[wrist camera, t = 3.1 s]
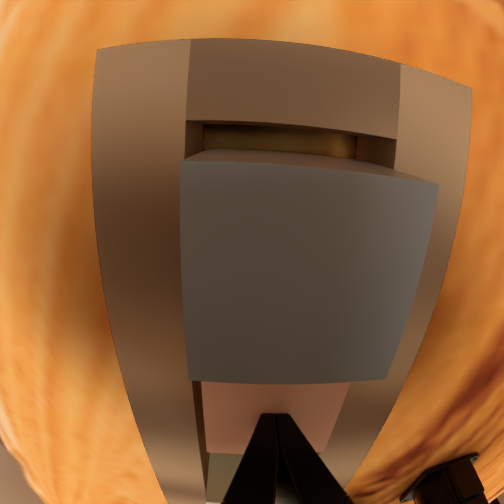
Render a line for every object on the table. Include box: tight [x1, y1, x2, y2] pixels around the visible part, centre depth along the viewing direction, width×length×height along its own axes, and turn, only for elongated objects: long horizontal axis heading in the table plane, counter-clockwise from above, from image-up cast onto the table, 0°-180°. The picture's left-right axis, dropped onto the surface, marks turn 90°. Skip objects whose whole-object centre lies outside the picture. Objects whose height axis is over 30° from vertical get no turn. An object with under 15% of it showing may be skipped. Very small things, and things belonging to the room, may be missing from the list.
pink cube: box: [201, 381, 350, 454], centre depth 10 cm, size 4×4×4 cm
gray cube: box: [180, 148, 439, 384], centre depth 7 cm, size 4×4×4 cm
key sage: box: [206, 452, 277, 504], centre depth 11 cm, size 4×4×4 cm
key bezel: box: [91, 38, 472, 504], centre depth 12 cm, size 25×10×3 cm, turn 177°
